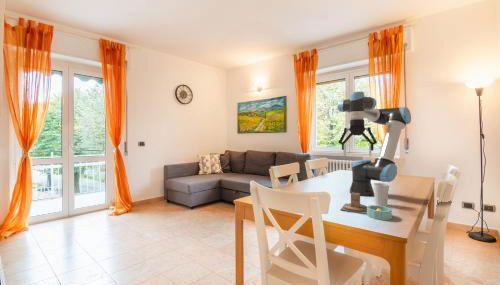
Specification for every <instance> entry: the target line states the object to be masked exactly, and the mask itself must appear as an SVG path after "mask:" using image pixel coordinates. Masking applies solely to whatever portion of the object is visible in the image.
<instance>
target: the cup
mask: <svg viewBox="0 0 500 285" xmlns="http://www.w3.org/2000/svg"><path fill="white" fill-rule="evenodd" d="M373 190H374V195H373V196H374V205H380V206H385V207H388V202H389V201H388V199H389V191H390V184H388V183H385V182H374V183H373Z"/></svg>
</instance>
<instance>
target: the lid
mask: <svg viewBox="0 0 500 285" xmlns="http://www.w3.org/2000/svg"><path fill="white" fill-rule="evenodd" d="M343 206H344V208H345V209H347V210H350V211H357V212H363V211H367V206H368V205H364V204H361V196H360V193H353V192H352V193H350V202H349V203H344V204H343Z"/></svg>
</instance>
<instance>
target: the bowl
mask: <svg viewBox="0 0 500 285" xmlns="http://www.w3.org/2000/svg"><path fill="white" fill-rule="evenodd" d="M366 206H367V215H366V216H367V217H369V218H371V219H374V220H378V221H390V220H392V219H393V209H392V208H390V207H388V206H386V207H385V206H380V205H375V204H371V205H366ZM377 209H381V210H382V211H377Z"/></svg>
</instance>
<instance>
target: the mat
mask: <svg viewBox="0 0 500 285" xmlns="http://www.w3.org/2000/svg"><path fill="white" fill-rule="evenodd" d="M340 212H347V213H352V214H353V213H355V214H360V215H366V216H367V211H363V212H357V211H350V210H347V209H345V208H344V205H343V206H341V208H340Z"/></svg>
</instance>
